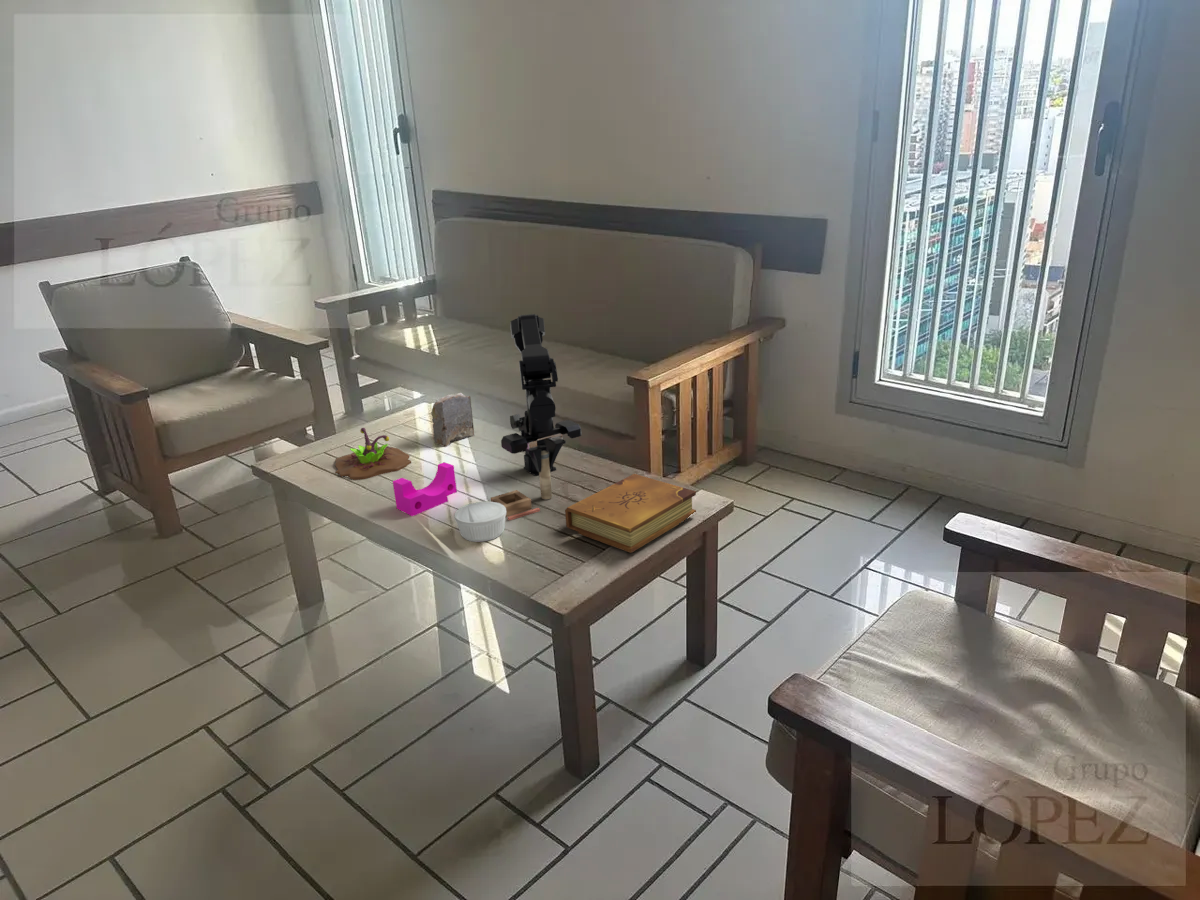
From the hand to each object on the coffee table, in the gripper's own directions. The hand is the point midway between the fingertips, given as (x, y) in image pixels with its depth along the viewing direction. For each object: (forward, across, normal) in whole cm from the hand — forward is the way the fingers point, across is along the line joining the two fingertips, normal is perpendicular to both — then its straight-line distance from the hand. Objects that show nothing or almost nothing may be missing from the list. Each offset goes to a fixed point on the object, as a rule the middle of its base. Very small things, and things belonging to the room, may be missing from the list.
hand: (544, 470), depth 200 cm
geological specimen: (+7, +2, -50) cm, 50 cm away
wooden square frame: (+7, +10, 0) cm, 12 cm away
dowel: (+7, 0, 0) cm, 7 cm away
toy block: (+8, +23, -16) cm, 29 cm away
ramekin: (+8, +21, +7) cm, 23 cm away
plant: (+8, +27, -48) cm, 55 cm away
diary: (+8, -9, +23) cm, 26 cm away
